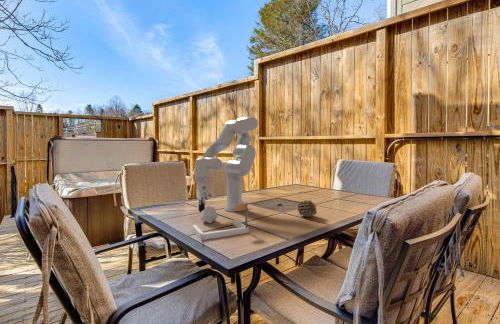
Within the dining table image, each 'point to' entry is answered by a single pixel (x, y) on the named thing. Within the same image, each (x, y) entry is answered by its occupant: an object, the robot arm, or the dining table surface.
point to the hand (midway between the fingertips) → (201, 211)
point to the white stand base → (229, 232)
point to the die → (209, 214)
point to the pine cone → (306, 208)
